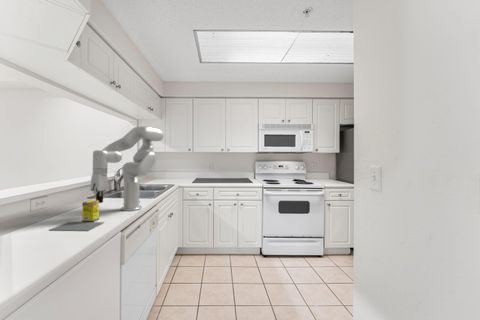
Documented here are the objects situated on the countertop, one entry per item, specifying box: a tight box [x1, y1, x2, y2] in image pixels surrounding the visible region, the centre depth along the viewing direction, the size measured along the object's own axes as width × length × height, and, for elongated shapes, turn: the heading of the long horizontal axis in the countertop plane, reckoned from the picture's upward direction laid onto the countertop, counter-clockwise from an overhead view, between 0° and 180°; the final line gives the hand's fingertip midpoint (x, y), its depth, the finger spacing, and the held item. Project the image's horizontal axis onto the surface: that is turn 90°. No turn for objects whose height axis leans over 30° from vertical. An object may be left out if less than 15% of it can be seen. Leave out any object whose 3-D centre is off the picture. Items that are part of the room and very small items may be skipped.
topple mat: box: [49, 221, 105, 232], centre depth 125 cm, size 14×19×1 cm
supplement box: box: [81, 199, 100, 222], centre depth 135 cm, size 6×6×11 cm
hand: (99, 202), depth 144 cm, fingers closed
